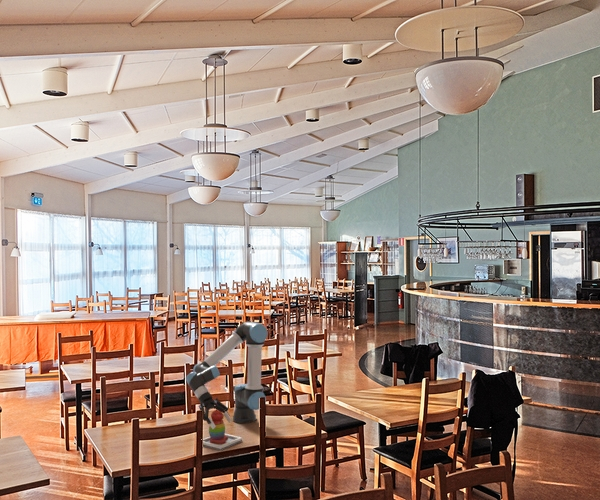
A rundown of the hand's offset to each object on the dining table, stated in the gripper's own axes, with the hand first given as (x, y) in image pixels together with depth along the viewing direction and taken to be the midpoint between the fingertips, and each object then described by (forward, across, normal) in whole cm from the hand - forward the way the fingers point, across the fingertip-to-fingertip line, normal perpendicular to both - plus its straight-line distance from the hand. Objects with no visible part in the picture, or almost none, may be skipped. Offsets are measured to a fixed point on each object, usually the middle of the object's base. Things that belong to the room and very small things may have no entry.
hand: (222, 424), depth 337 cm
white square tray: (+6, 0, -9) cm, 11 cm away
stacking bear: (+5, +1, -10) cm, 11 cm away
